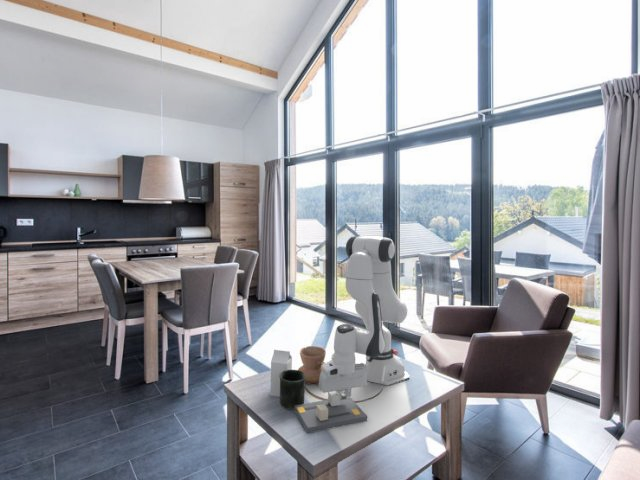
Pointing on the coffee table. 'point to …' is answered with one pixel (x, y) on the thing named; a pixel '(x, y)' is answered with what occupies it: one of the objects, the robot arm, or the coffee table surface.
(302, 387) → the mug
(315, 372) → the ceramic jug
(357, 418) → the switch panel
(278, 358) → the milk carton
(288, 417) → the coffee table surface
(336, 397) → the off white slider
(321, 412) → the sand slider
